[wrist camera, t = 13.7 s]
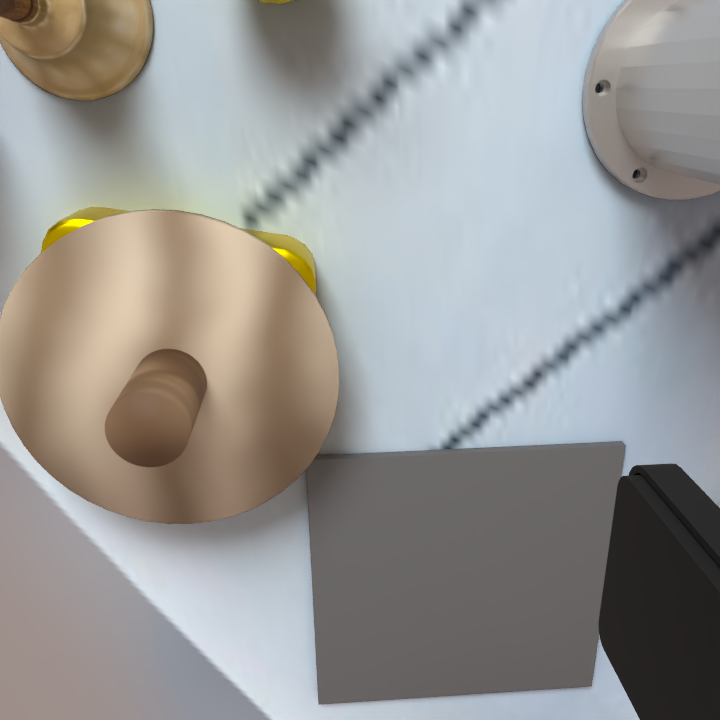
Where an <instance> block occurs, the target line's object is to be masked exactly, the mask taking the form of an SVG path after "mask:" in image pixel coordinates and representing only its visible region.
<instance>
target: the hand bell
mask: <svg viewBox="0 0 720 720" xmlns="http://www.w3.org/2000/svg"><path fill="white" fill-rule="evenodd" d="M152 36H153V16H152V8H151V4H150V0H0V43H1V45H2V47H3V49H4V51H5V52H6V54H7V55H8V57H9V58H10V60H11V61H12V62H13V64H14V65H15V66H16V67H17V68H18V69H19V70H20V71H21V72H22V74H24V75H25V76H26V77H27V78H28V79H29V80H30V81H32V82H33V83H34V84H36V85H37V86H39V87H41V88H42V89H44V90H46V91H48V92H50V93H52V94H54V95H57V96H60V97H63V98H68V99H73V100H83V101H86V100H96V99H100V98H104V97H107V96H110V95H112V94H114V93H116V92H118V91H120V90H121V89H123V88H124V87H126V86H127V85H128V84H129V83H130V82H131V81H132V80H133V79H134V78H135V77H136V76H137V75H138V73H139V72H140V71H141V69H142V67H143V65H144V63H145V61H146V59H147V56H148V53H149V50H150V47H151V43H152Z"/></svg>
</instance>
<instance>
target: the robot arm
mask: <svg viewBox="0 0 720 720" xmlns="http://www.w3.org/2000/svg"><path fill="white" fill-rule="evenodd" d="M597 83H599V84H600V86H601V89H600V91H599V92H598V93H596V92H595V87H596V84H597ZM583 117H584V121H585V126H586V130H587V135H588V138H589V140H590V142H591V145H592V147H593V149H594V151H595V154H596V156H597V157H598V158H599V160H600V161H601V162H602V164H603V165H604V167H605V168H606V169H607V171H609V172H610V173H611V174H612V175H613V176H614V177H615V178H616V179H618V180H619V181H620V182H621V183H622V184H624V185H626V186H628V187H630V188H632V189H633V190H635V191H637V192H640V193H643V194H646V195H649V196H651V197H656V198H662V199H667V200H692V199H696V198H701V197H705V196H710V195H713V194H715V193H717V192H720V0H624V1H623V2H622V3H621V4H620V5H619V6H618V8H617V9H616V10H615V12H614V13H613V15H612V16H611V17H610V19H609V20H608V21H607V23H606V24H605V26H604V27H603V29H602V31H601V33H600V35H599V37H598V39H597V41H596V43H595V45H594V47H593V49H592V53H591V56H590V59H589V62H588V65H587V69H586V72H585V80H584V87H583ZM635 170H637V175H636V176H635V177H633V176H632V175H633V173H634V171H635ZM598 626H599V635H600V640H601V643H602V646H603V648H604V651H605V653H606V654H607V656H608V658H609V660H610V662H611V664H612V666H613V668H614V670H615V672H616V674H617V676H618V678H619V680H620V682H621V684H622V686H623V688H624V689H625V691H626V693H627V695H628V697H629V699H630V701H631V703H632V705H633V707H634V709H635V711H636V713H637V715H638V717H639V719H640V720H720V508H719V507H718V506H717V505H716V504H715V503H714V502H713V501H712V500H711V499H710V498H709V497H708V496H707V495H706V493H705V492H704V491H703V490H702V489H701V488H700V487H699V486H698V485H697V484H696V483H695V482H694V481H693V480H692V479H691V478H690V477H689V476H688V475H687V474H686V473H685V472H684V471H683V470H682V468H680V467H679V466H678V465H676V464H656V465H636V466H634V467H633V468H632V469H631V471H630V473H629V476H622V477H621V478H620V480H619V481H618V486H617V492H616V499H615V507H614V514H613V521H612V528H611V535H610V543H609V550H608V557H607V564H606V571H605V578H604V586H603V593H602V600H601V607H600V614H599V624H598Z"/></svg>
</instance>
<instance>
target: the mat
mask: <svg viewBox="0 0 720 720" xmlns="http://www.w3.org/2000/svg"><path fill="white" fill-rule="evenodd" d="M625 447H626V445H625V444H624V443H623V442H622V441H620V442H598V443H577V444H556V445H534V446H513V447H491V448H470V449H449V450H427V451H406V452H385V453H363V454H342V455H321V456H315V458H314V459H313V461H312V462H311V464H310V465H309V466H308V467H307V468H306V474H307V493H308V512H309V531H310V550H311V569H312V588H313V607H314V626H315V646H316V665H317V684H318V703H319V704H332V703H347V702H362V701H377V700H393V699H408V698H423V697H438V696H453V695H468V694H483V693H499V692H514V691H529V690H544V689H559V688H574V687H589V686H592V680H593V673H594V666H595V658H596V651H597V644H598V637H599V626H598V624H599V614H600V607H601V600H602V593H603V586H604V578H605V571H606V564H607V557H608V550H609V543H610V535H611V528H612V521H613V514H614V507H615V499H616V492H617V486H618V481H619V480H620V478H621V475H622V468H623V461H624V454H625Z"/></svg>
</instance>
